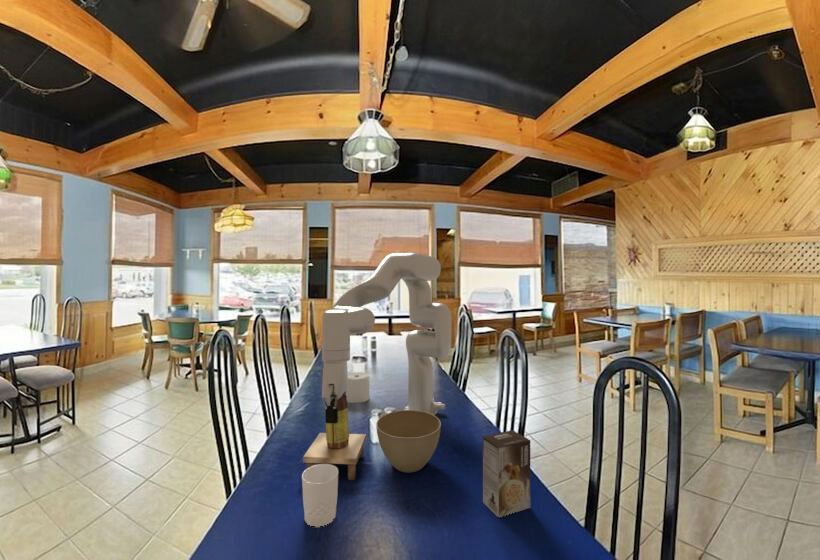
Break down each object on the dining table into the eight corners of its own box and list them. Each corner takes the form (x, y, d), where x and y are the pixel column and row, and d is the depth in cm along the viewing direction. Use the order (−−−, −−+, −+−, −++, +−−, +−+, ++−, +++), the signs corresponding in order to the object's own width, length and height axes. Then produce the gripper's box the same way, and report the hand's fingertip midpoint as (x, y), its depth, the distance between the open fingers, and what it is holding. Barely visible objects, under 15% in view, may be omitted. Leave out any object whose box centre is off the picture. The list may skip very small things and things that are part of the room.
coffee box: (512, 493, 90) (513, 428, 90) (531, 508, 85) (532, 440, 84) (481, 502, 87) (482, 435, 86) (498, 519, 81) (499, 447, 80)
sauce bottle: (352, 440, 105) (352, 371, 104) (343, 451, 99) (343, 378, 98) (330, 438, 106) (330, 370, 106) (321, 448, 100) (321, 376, 99)
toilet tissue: (373, 400, 154) (373, 376, 153) (347, 406, 147) (347, 381, 147) (362, 393, 163) (362, 370, 162) (336, 398, 156) (336, 375, 156)
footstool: (366, 454, 109) (366, 434, 109) (356, 481, 95) (356, 458, 95) (319, 452, 110) (319, 432, 110) (303, 479, 96) (303, 456, 96)
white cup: (306, 506, 85) (305, 464, 85) (340, 504, 86) (340, 462, 85) (298, 530, 77) (298, 484, 77) (336, 528, 78) (336, 482, 78)
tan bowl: (368, 456, 108) (368, 415, 108) (423, 444, 115) (423, 406, 115) (389, 490, 91) (389, 442, 91) (452, 474, 99) (452, 429, 98)
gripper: (331, 347, 110) (331, 403, 111) (312, 362, 93) (313, 428, 94) (356, 348, 110) (356, 404, 110) (341, 362, 93) (342, 429, 93)
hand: (336, 415), depth 102 cm, fingers open, 9 cm apart
